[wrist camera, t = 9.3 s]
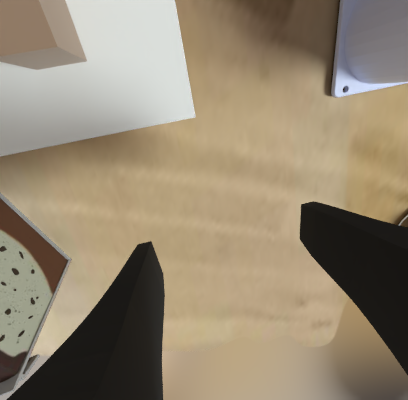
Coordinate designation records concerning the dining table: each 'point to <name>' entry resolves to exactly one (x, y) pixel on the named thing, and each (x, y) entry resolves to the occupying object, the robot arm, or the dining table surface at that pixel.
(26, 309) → the food container
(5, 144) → the cover sheet
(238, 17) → the dining table surface
